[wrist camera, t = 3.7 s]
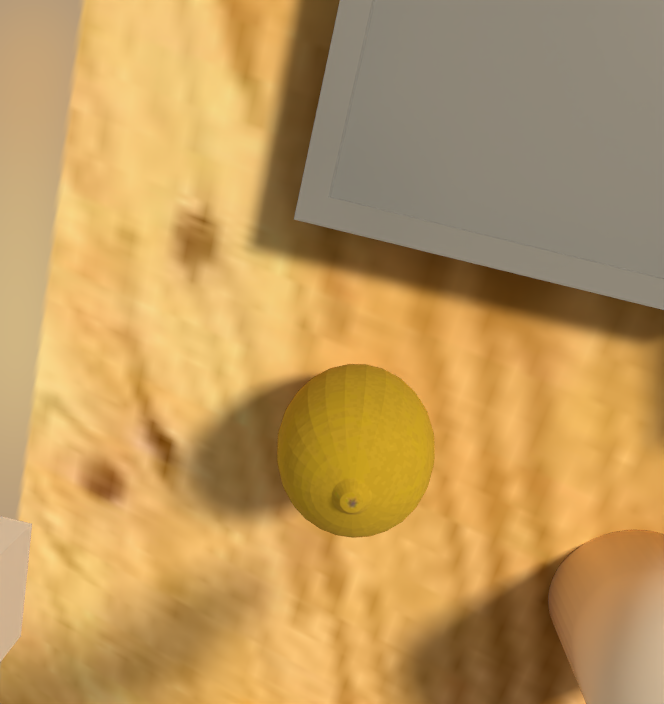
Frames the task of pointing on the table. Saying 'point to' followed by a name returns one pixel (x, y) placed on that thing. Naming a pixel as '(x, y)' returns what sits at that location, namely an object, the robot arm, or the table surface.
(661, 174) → the dish
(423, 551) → the table surface
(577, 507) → the table surface
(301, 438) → the lemon
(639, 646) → the cream rounded cylinder
